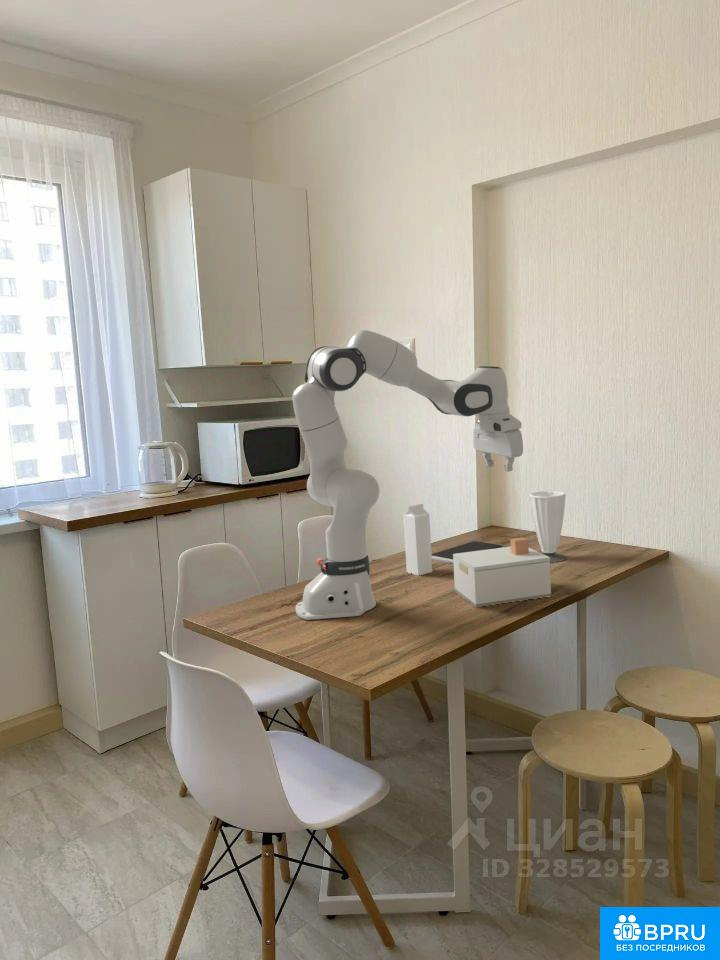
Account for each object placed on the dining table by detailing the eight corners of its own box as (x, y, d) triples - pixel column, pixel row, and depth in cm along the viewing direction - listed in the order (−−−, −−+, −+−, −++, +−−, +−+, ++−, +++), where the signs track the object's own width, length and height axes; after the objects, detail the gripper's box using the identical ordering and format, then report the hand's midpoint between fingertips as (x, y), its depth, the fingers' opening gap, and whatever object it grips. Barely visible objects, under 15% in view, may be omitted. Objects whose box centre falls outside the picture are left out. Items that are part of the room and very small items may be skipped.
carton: (475, 608, 191) (473, 571, 190) (454, 591, 207) (452, 558, 205) (551, 596, 196) (549, 561, 194) (524, 581, 211) (523, 548, 210)
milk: (406, 572, 230) (401, 505, 227) (421, 568, 233) (416, 502, 230) (418, 576, 225) (414, 507, 222) (433, 572, 228) (428, 504, 225)
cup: (532, 553, 242) (530, 491, 239) (567, 553, 239) (565, 490, 236) (530, 562, 231) (528, 497, 228) (567, 562, 228) (565, 496, 225)
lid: (474, 571, 190) (473, 552, 189) (453, 557, 205) (452, 540, 204) (549, 560, 194) (549, 543, 194) (523, 548, 210) (523, 531, 209)
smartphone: (504, 549, 253) (504, 544, 253) (455, 565, 235) (455, 560, 235) (475, 544, 263) (474, 540, 263) (425, 560, 245) (425, 555, 245)
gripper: (466, 421, 213) (470, 466, 216) (506, 426, 194) (510, 475, 197) (484, 417, 215) (488, 462, 218) (525, 422, 197) (529, 471, 200)
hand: (499, 468), depth 207 cm, fingers open, 8 cm apart
